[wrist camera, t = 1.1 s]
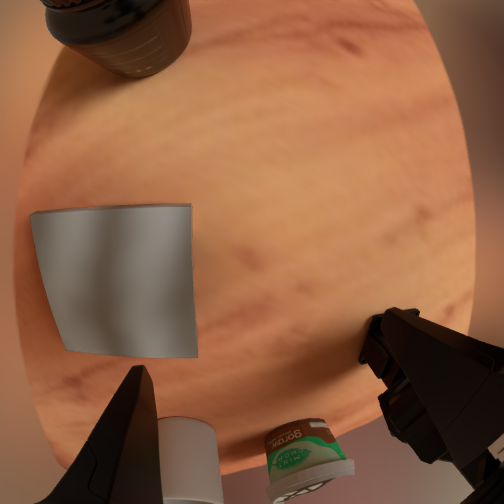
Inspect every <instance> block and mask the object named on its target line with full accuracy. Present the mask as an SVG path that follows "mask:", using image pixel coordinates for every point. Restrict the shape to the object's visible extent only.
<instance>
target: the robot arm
mask: <svg viewBox="0 0 504 504" xmlns="http://www.w3.org/2000/svg"><path fill="white" fill-rule="evenodd" d="M419 314H420V311H419V310H418V309H411V310H405V311H404V310H401V309H398V308H396V307H392V308H389V309H387V310H386V311H385V312H384V314H380V315H376V316H374V317H373V319H372V322H371V325H370V328H369V331H368V334H367V337H366V340H365V343H364V346H363V349H362V352H361V354H360V357H359V360H358V361H359V363H360V364H361V365H363V364H367V363H368V365H369V366H370V368H371V369H372V371H373V372H374V374H375V375H376V377H377V378H378V379H380V378H381V379H382V381H383V382H384V384H385V385H386V387H387V388H388V389H387V390H386V391H385V392H384V393H383V394H382V393H381V394H380V395H379V396H378V400H379V403H380V407H381V410H382V412H383V415H384V418H385V420H386V423H387V426H388V429H389V431H390V434H391V435H392V436H393V437H397V438H398V439H399V440H400V441H401V442H403V443H406V444H407V443H408V444H409V445H410V446H411V448H412V449H413V450H414V451H415V453H416V454H417V456H418V457H419V459H420V460H421V461H423V462H426V463H428V464H432V463H433V462H435V461H436V460H441V461H446V462H451V463H453V464H454V465H455V466H456V468H457V469H458V470H459V471H460V473H461V474H462V475H463V476H464V477H465V479H466V480H467V481H468V483H469V484H470V485H471V486H472V488H473V489H474V490H475V491H474V492H472V493H471V494H470V495H469V496H468V497H467V498H466V499H465V500H464V501H462V502H461V503H460V504H504V348H501V347H498V346H494V345H491V344H488V343H485V342H482V341H479V340H477V339H474V338H471V337H469V336H466V335H464V334H461V333H459V332H456V331H454V330H451V329H449V328H446V327H444V326H441V325H439V324H436V323H434V322H431V321H429V320H426V319H424V318H421V317H419ZM87 440H88V441H86V442H85V444H84V446H83V447H82V449H81V451H80V452H79V454H78V456H77V457H76V459H75V460H74V462H73V463H72V465H71V466H70V468H69V469H68V470H67V472H66V473H65V475H64V476H63V477H62V478H61V480H60V481H59V483H58V484H57V485H56V487H55V488H54V489H53V491H52V492H51V493H50V494H49V495H48V496H47V497H46V498H45V499H43V500H42V501H40V502H38V503H35V504H163V495H162V484H161V472H160V457H159V434H158V419H157V411H156V404H155V396H154V387H153V382H152V379H151V377H150V375H149V373H148V371H147V369H146V367H145V366H144V365H135V366H132V367H131V369H130V371H129V372H128V374H127V375H126V377H125V378H124V380H123V382H122V383H121V385H120V386H119V388H118V390H117V391H116V393H115V394H114V396H113V398H112V399H111V401H110V402H109V404H108V406H107V407H106V409H105V411H104V412H103V414H102V416H101V417H100V419H99V421H98V422H97V424H96V426H95V427H94V429H93V431H92V432H91V434H90V436H89V437H88V439H87Z"/></svg>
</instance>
